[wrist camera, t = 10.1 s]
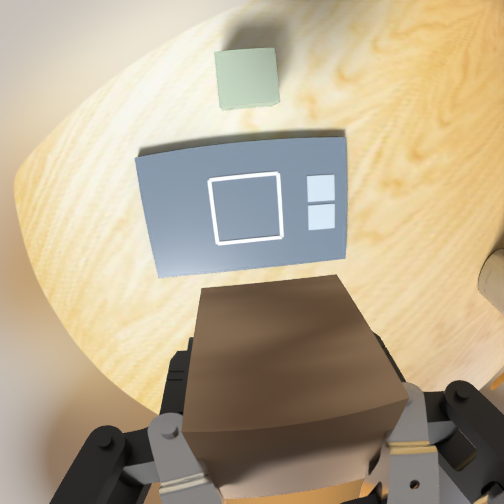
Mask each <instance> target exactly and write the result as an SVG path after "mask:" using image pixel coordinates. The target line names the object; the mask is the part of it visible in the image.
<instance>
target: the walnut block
mask: <svg viewBox="0 0 504 504" xmlns="http://www.w3.org/2000/svg"><path fill="white" fill-rule="evenodd" d="M409 398H410V397H409V395H408V393H407V391H406V390H405V388H404V386H403V384H402V382H401V381H400V379H399V377H398V375H397V373H396V372H395V370H394V368H393V366H392V365H391V363H390V361H389V359H388V358H387V356H386V354H385V352H384V351H383V349H382V347H381V346H380V344H379V342H378V341H377V339H376V337H375V335H374V334H373V332H372V330H371V329H370V327H369V325H368V324H367V322H366V321H365V319H364V317H363V316H362V314H361V312H360V311H359V309H358V308H357V306H356V304H355V303H354V301H353V300H352V298H351V296H350V295H349V293H348V292H347V290H346V288H345V287H344V285H343V284H342V282H341V281H340V279H339V278H338V276H337V274H336V275H328V276H319V277H310V278H301V279H292V280H283V281H273V282H264V283H254V284H243V285H233V286H222V287H210V288H202V289H201V295H200V301H199V307H198V313H197V319H196V326H195V332H194V339H193V345H192V352H191V359H190V366H189V373H188V381H187V388H186V396H185V404H184V412H183V420H182V429H181V432H182V434H183V436H184V438H185V440H186V442H187V444H188V446H189V448H190V449H191V451H192V453H193V455H194V457H195V458H203V459H204V461H205V463H206V465H207V467H208V469H209V472H210V474H211V476H212V478H213V481H214V483H215V484H217V485H218V487H219V488H220V490H221V493H222V495H223V497H224V499H229V498H251V497H264V496H274V495H283V494H290V493H297V492H303V491H309V490H315V489H319V488H325V487H330V486H334V485H338V484H343V483H347V482H351V481H355V480H359V479H362V478H365V472H366V466H367V464H368V463H369V461H372V460H375V459H377V458H378V456H379V455H380V453H381V442H382V437H383V436H384V434H385V432H386V431H387V430H390V429H394V428H395V426H396V425H397V423H398V421H399V419H400V417H401V415H402V413H403V411H404V409H405V407H406V405H407V403H408V400H409Z"/></svg>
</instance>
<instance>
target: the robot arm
mask: <svg viewBox="0 0 504 504" xmlns="http://www.w3.org/2000/svg"><path fill="white" fill-rule="evenodd" d="M478 289H479V292H480V293H481V294H482V295H483V296H484V297H485V298H486V299H487V300H488V301H489V302H490V303H491V304H493V306H495V307H496V308H497V309H498V310H499V311H500V312H501V313H502V314H503V315H504V249H499V250H497V251H495V252H494V253H493V254H492V255H491V256H490V257H489V258H488V260H487V261H486V262H485V264H484V266H483V268H482V270H481V273H480V276H479V281H478ZM372 332H373V331H372ZM373 334H374V335H375V337H376V339H377V341H378V342H379V344H380V346H381V347H382V349H383V351H384V352H385V354H386V356H387V358H388V359H389V361H390V363H391V365H392V366H393V368H394V370H395V372H396V373H397V375H398V377H399V379H400V381H401V382H402V384H403V386H404V388H405V390H406V391H407V393H408V395H409V397H410V398H409V400H408V403H407V405H406V407H405V409H404V411H403V413H402V415H401V417H400V419H399V421H398V423H397V425H396V426H395V428H394V429H390V430H387V431H386V432H385V434H384V436H383V437H382V442H381V453H380V455H379V456H378V458H377V459H375V460H372V461H369V463H368V464H367V466H366V472H365V479H364V483H363V486H362V488H361V492H360V497H359V498H358V499H354V500H350V501H347V502H343V503H341V504H439V468H438V464H439V465H440V466H441V467H442V469H443V470H444V471H445V472H446V473H447V475H448V476H449V477H450V478H451V479H452V481H453V482H454V483H455V484H456V485H457V487H458V488H459V489H460V490H461V492H462V493H463V494H464V495H465V497H466V498H467V499H468V500H469V501H470V503H471V504H504V415H503V414H502V413H501V412H500V411H499V410H498V409H497V408H496V407H495V406H494V405H493V404H492V403H491V402H490V401H489V400H488V399H487V398H486V397H484V396H483V395H482V394H481V393H480V392H479V391H478V390H477V389H476V388H475V387H474V386H473V385H472V384H470V383H468V382H466V381H462V380H457V381H453V382H451V383H450V384H449V385H448V386H447V387H446V389H445V391H439V392H422V390H421V389H420V388H419V387H418V386H416V385H414V384H412V383H408V382H406V380H405V379H404V377H403V375H402V373H401V372H400V370H399V368H398V367H397V365H396V363H395V361H394V360H393V358H392V356H391V355H390V354H389V351H388V350H387V348H385V345H384V343H383V341H382V340H381V338H380V337H379V336H378V335H377V334H375V333H374V332H373ZM193 339H194V337H190V338H189V343H188V349H187V351H177V353H176V354H175V355H174V356H173V358H172V359H171V360H170V365H169V370H168V374H167V382H166V384H165V389H164V394H163V399H162V404H161V410H160V414H159V416H157V417H156V418H154V419H153V420H152V421H151V423H150V424H149V426H148V427H147V428H144V429H141V430H137V431H133V432H127V433H122V432H121V431H120V430H119V429H118V428H116V427H114V426H108V425H107V426H101V427H98V428H97V429H95V430H94V431H93V432H92V433H91V434H90V435H89V437H88V438H87V440H86V441H85V443H84V445H83V447H82V448H81V450H80V452H79V453H78V455H77V457H76V458H75V460H74V462H73V463H72V465H71V467H70V468H69V470H68V472H67V474H66V475H65V477H64V479H63V480H62V482H61V484H60V486H59V488H58V489H57V491H56V493H55V495H54V497H53V498H52V500H51V502H50V504H143V503H144V500H145V498H146V496H147V494H148V491H149V489H150V487H151V484H152V483H155V482H161V487H160V488H159V493H160V497H161V501H162V504H227V503H226V501H225V499H224V497H223V495H222V493H221V490H220V488H219V487H218V485H217V484H215V483H214V481H213V478H212V476H211V474H210V472H209V469H208V467H207V465H206V463H205V461H204V459H203V458H195V457H194V455H193V453H192V451H191V449H190V448H189V446H188V444H187V442H186V440H185V438H184V436H183V434H182V432H181V429H182V420H183V412H184V404H185V396H186V388H187V381H188V373H189V366H190V359H191V352H192V345H193ZM458 429H459V430H460V431H461V432H462V433H463V434H464V435H465V436H466V437H467V438H468V439H469V441H470V442H471V443H472V444H473V445H474V446H475V447H476V448H475V447H474V446H473V445H472V444H471V443H470V442H469V441H468V440H467V439H466V437H465V436H464V435H463V434H462V433H461V432H460V431H459V430H458Z"/></svg>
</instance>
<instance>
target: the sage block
mask: <svg viewBox="0 0 504 504" xmlns="http://www.w3.org/2000/svg"><path fill="white" fill-rule="evenodd" d="M214 54H215V65H216V75H217V86H218V96H219V106H220V108H221V109H222V111H226V110H235V109H246V108H258V107H272V106H273V105H275V104H277V103H279V102H280V94H279V84H278V74H277V64H276V55H275V48H252V49H238V50H228V51H218V52H214Z"/></svg>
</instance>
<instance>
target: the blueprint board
mask: <svg viewBox="0 0 504 504" xmlns="http://www.w3.org/2000/svg"><path fill="white" fill-rule="evenodd" d="M135 162H136V169H137V175H138V181H139V187H140V193H141V198H142V204H143V209H144V214H145V219H146V224H147V229H148V234H149V238H150V243H151V247H152V252H153V256H154V260H155V264H156V269H157V273H158V277H159V278H164V277H175V276H186V275H196V274H207V273H217V272H227V271H237V270H247V269H256V268H266V267H275V266H284V265H294V264H303V263H311V262H320V261H329V260H338V259H345V257H346V232H347V152H346V137H309V138H286V139H270V140H257V141H245V142H235V143H226V144H217V145H209V146H201V147H194V148H187V149H180V150H174V151H168V152H162V153H156V154H150V155H145V156H140V157H136V158H135Z"/></svg>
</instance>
